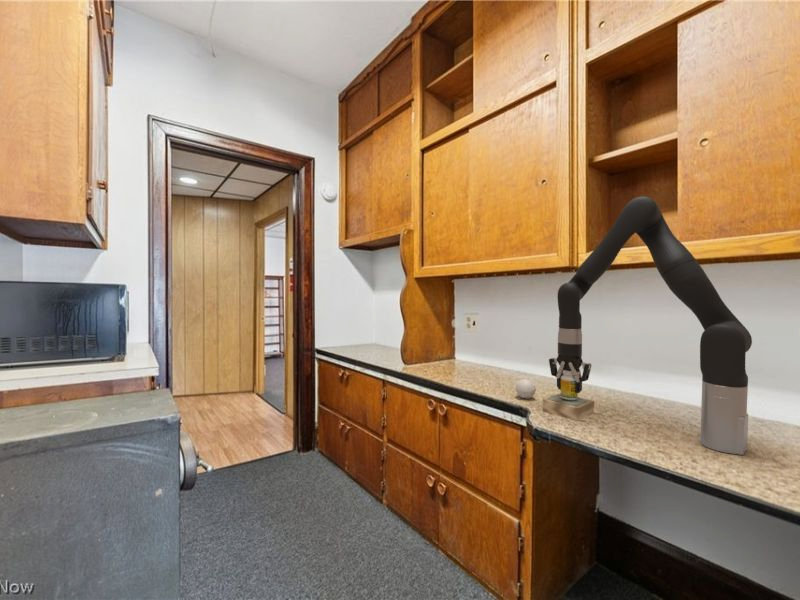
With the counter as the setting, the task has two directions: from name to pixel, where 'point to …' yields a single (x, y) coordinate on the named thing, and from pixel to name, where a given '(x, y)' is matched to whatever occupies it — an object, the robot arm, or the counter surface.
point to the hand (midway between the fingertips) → (569, 390)
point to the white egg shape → (525, 388)
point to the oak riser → (568, 407)
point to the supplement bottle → (568, 386)
